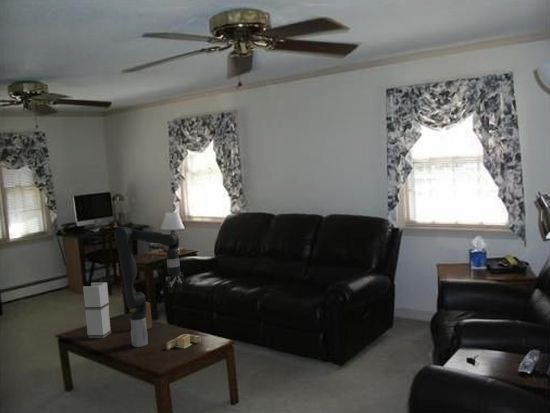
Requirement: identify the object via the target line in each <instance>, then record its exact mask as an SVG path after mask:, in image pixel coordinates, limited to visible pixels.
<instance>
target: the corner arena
mask: <svg viewBox="0 0 550 413" xmlns="http://www.w3.org/2000/svg"><path fill="white" fill-rule="evenodd" d="M182 335H189V336H190V343H195V344H201V343H202V337H201V335H194V334H188V333H183V334H182ZM165 344H166V345H165V346H166V350H171V349H173V348H176V347H175V346H177V345H178V344H177V337H176V338H174V339H171V340H169V341H167V342H166V343H165Z"/></svg>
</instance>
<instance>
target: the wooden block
mask: <svg viewBox="0 0 550 413" xmlns="http://www.w3.org/2000/svg"><path fill="white" fill-rule="evenodd" d="M151 309H152V308H151V303H150V302H149V301H146V326H147V330H150V329H152V328H153V322H152V321H153V320H152V310H151Z"/></svg>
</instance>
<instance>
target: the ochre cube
mask: <svg viewBox="0 0 550 413" xmlns="http://www.w3.org/2000/svg"><path fill="white" fill-rule="evenodd" d="M189 335H190V334H189ZM189 335H183V334H181V335H179V336H177V337H176V338H177V344H178V346H180V347H186V346H188V345H190V344H191V342H190V336H189ZM190 346H191V345H190ZM188 347H189V346H188Z"/></svg>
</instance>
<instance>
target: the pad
mask: <svg viewBox="0 0 550 413" xmlns="http://www.w3.org/2000/svg"><path fill="white" fill-rule="evenodd" d="M192 345H193V343H190V345H188V346H186V347H180V346H178V345H177V346H175V347H174V348H180V349H186V348H189V347H190V346H192Z"/></svg>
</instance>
